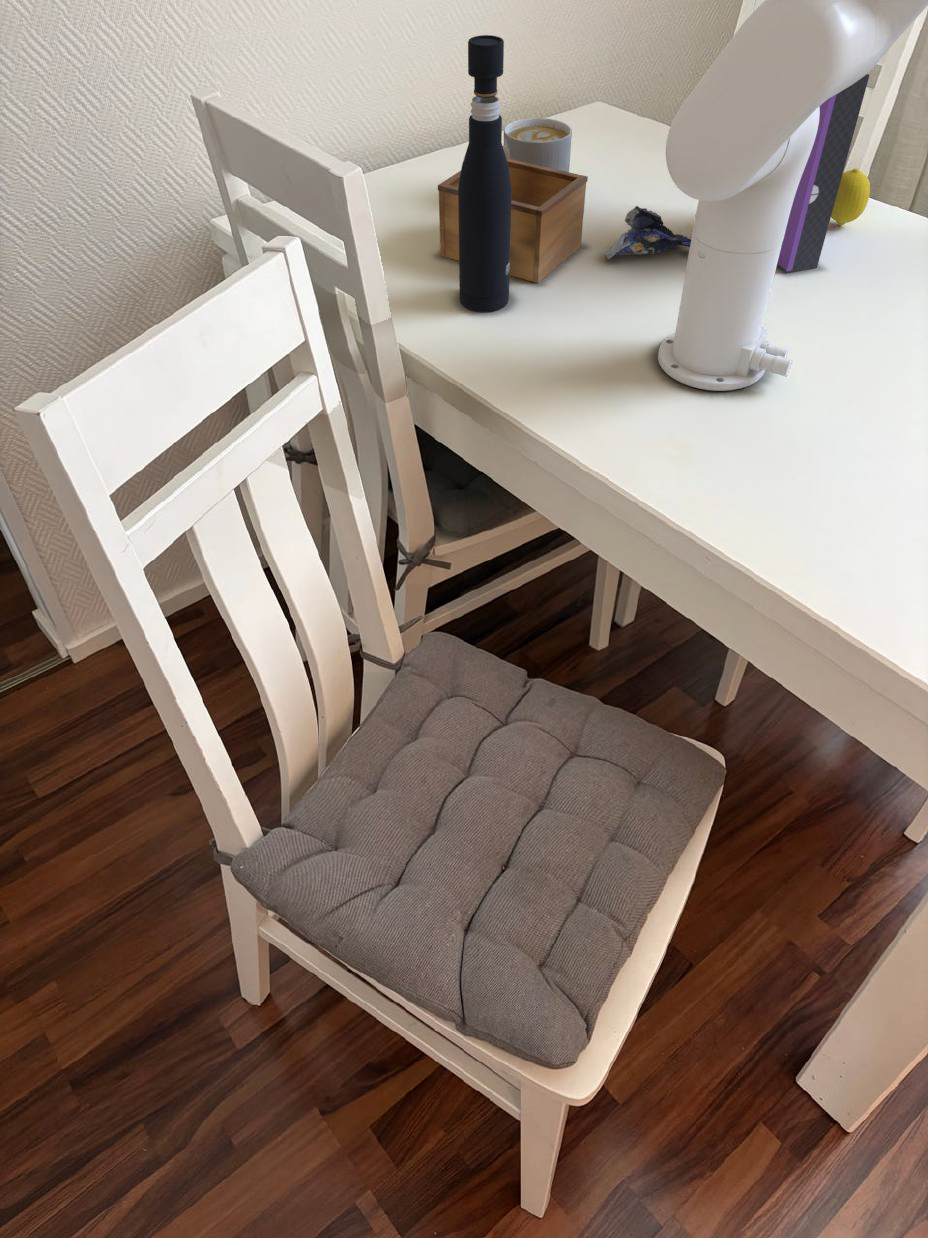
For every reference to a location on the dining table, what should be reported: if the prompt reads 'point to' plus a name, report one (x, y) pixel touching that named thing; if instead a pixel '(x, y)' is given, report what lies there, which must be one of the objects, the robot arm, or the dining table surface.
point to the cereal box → (821, 180)
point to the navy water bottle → (484, 188)
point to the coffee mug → (539, 142)
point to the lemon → (851, 197)
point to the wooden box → (527, 218)
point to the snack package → (646, 235)
